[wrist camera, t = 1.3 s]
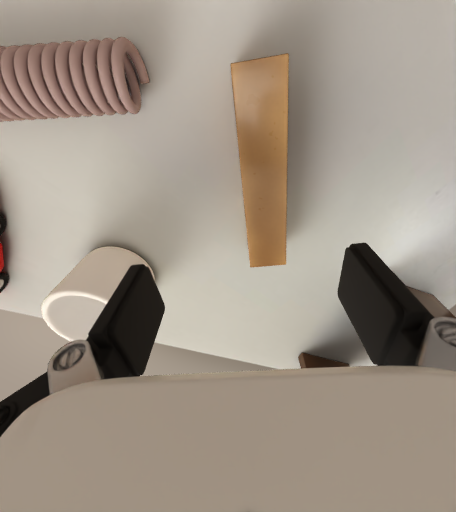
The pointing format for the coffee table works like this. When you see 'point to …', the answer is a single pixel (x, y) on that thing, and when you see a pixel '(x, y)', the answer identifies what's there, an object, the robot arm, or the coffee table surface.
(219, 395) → the robot arm
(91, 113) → the coil
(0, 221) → the toy car
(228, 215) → the coffee table surface
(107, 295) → the mug
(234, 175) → the coffee table surface
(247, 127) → the stick
